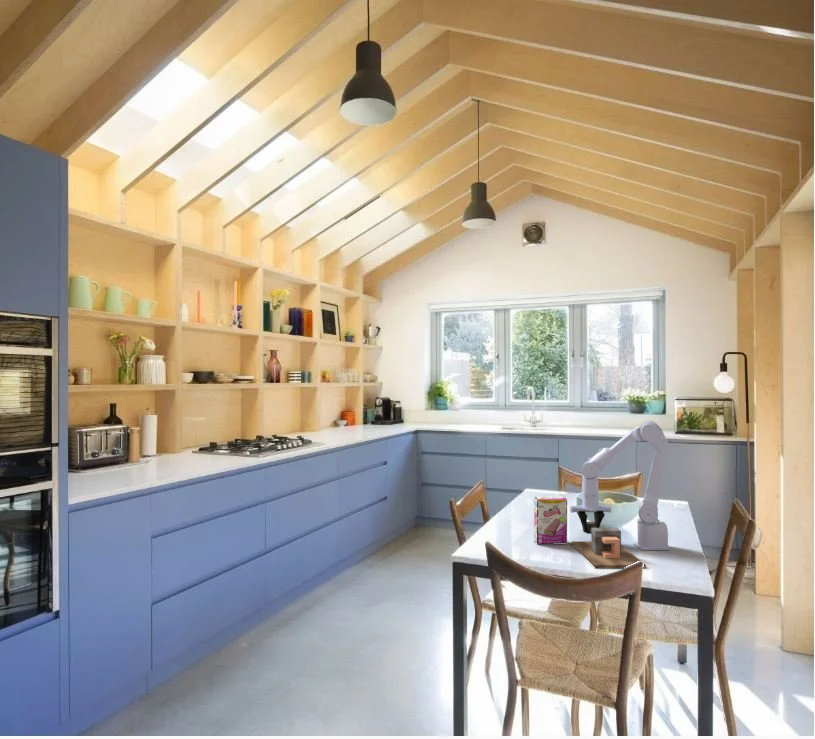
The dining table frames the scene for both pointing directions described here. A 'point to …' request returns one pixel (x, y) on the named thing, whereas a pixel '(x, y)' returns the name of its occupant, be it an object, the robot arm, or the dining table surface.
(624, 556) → the bearing stand
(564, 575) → the dining table surface
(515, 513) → the dining table surface
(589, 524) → the shaft
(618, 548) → the spacer
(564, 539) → the candy bar box
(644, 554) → the dining table surface
